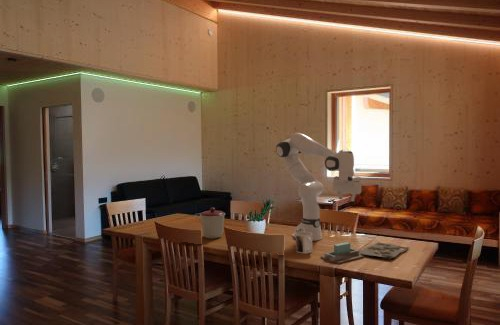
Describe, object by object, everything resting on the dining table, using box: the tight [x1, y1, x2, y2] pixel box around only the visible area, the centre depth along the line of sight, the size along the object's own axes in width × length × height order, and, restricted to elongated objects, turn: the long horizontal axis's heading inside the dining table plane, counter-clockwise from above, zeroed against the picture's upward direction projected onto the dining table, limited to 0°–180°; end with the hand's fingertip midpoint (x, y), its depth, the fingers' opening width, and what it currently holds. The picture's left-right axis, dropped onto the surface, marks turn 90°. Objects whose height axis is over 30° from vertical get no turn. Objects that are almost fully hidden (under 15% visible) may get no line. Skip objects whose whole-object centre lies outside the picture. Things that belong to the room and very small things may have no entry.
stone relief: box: [359, 241, 410, 261], centre depth 233 cm, size 32×3×20 cm
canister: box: [199, 207, 226, 240], centre depth 277 cm, size 18×18×21 cm
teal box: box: [333, 241, 351, 255], centre depth 224 cm, size 3×10×7 cm, turn 123°
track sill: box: [320, 247, 365, 265], centre depth 224 cm, size 14×20×4 cm
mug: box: [295, 232, 314, 254], centre depth 237 cm, size 10×12×11 cm
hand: (346, 200), depth 235 cm, fingers open, 8 cm apart
